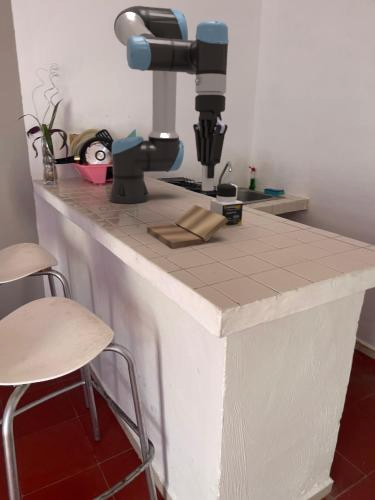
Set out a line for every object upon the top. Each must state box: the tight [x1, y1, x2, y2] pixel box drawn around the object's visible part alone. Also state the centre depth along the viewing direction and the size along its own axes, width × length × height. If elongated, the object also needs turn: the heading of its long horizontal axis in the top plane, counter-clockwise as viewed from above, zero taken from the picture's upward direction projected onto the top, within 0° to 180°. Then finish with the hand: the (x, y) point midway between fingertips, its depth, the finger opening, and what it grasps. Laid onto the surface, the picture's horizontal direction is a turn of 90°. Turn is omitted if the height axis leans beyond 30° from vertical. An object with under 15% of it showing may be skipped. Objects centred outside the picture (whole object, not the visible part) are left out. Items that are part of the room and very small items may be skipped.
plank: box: [174, 204, 228, 242], centre depth 101 cm, size 16×8×2 cm
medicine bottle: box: [209, 183, 244, 229], centre depth 111 cm, size 7×7×12 cm
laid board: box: [146, 223, 206, 250], centre depth 99 cm, size 16×9×2 cm, turn 28°
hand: (207, 190), depth 99 cm, fingers closed
